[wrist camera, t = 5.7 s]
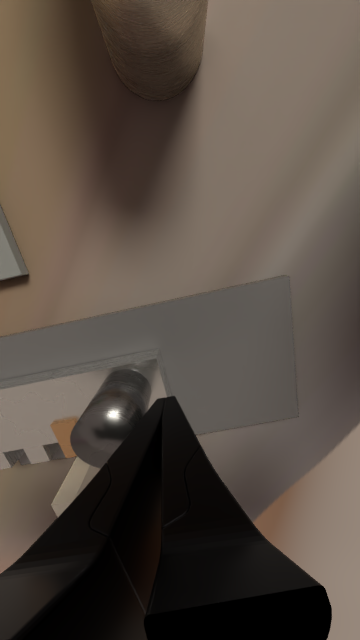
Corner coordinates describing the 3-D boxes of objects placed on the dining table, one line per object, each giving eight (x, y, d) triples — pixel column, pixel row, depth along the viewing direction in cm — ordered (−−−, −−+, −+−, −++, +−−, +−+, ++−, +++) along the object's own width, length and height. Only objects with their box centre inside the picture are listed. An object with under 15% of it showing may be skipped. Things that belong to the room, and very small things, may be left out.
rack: (158, 348, 11) (145, 400, 7) (178, 422, 12) (177, 503, 8) (-50, 390, 12) (-177, 460, 8) (-10, 456, 13) (-99, 545, 9)
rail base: (284, 275, 11) (343, 280, 7) (294, 414, 13) (342, 477, 9) (-37, 344, 12) (-143, 383, 8) (28, 461, 14) (-29, 534, 10)
